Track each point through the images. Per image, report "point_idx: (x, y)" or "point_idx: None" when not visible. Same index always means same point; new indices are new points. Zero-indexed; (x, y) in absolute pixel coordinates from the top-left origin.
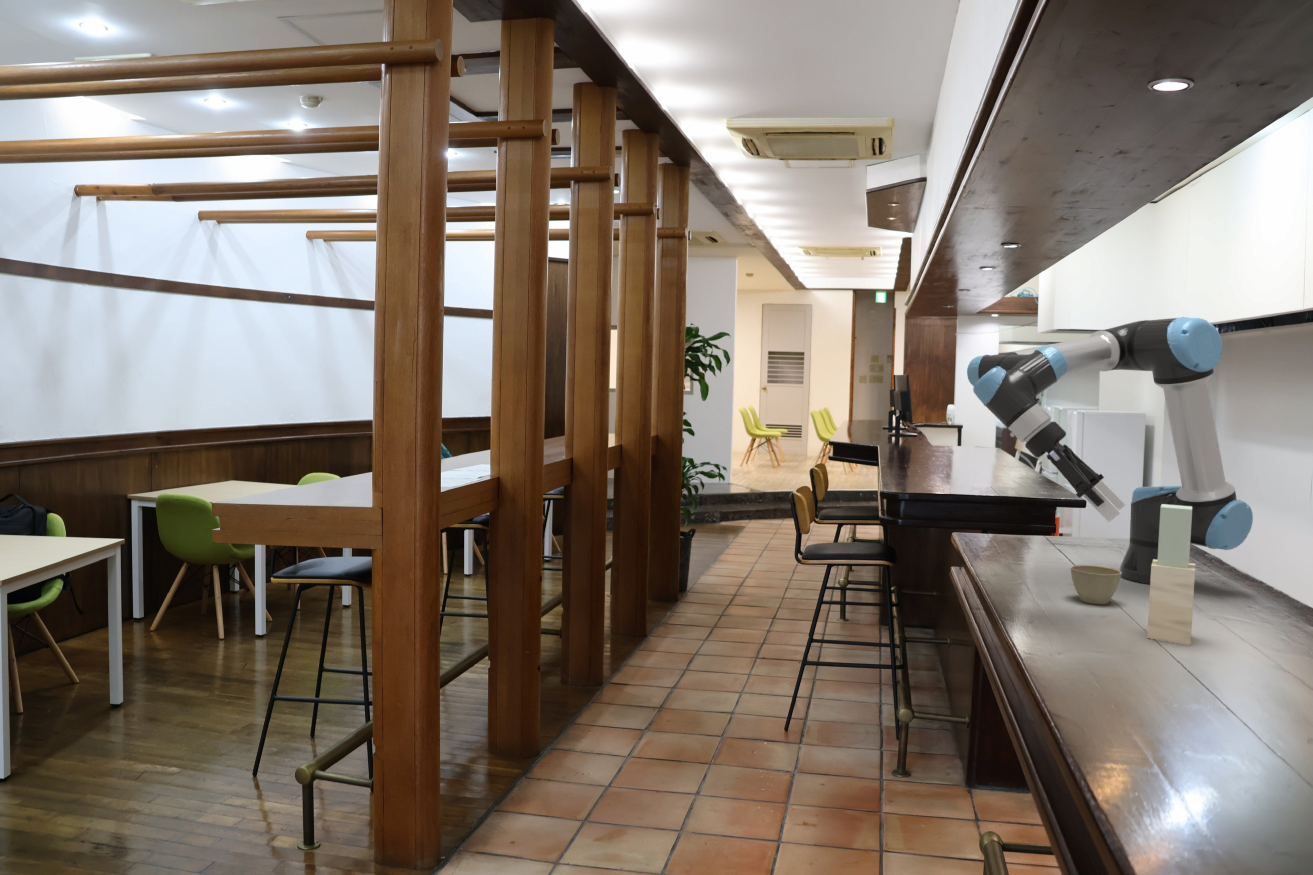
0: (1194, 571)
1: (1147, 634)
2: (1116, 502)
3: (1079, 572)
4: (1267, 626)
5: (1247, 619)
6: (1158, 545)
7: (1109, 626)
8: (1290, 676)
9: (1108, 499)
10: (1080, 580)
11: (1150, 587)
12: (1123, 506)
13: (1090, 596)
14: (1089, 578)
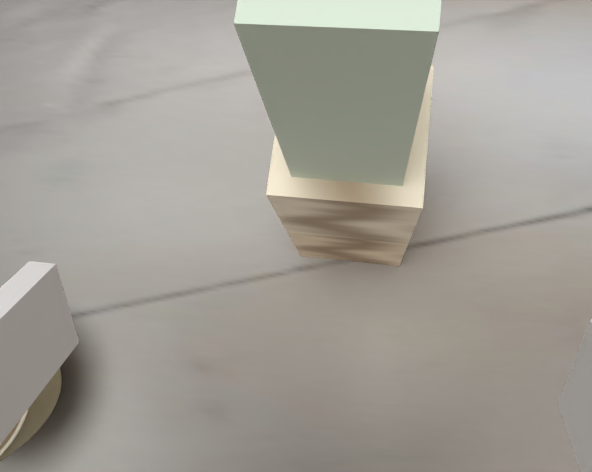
0: (432, 68)
1: (400, 263)
2: (32, 328)
3: (7, 450)
4: (133, 9)
5: (82, 40)
6: (409, 152)
7: (314, 355)
8: (567, 6)
9: (5, 391)
10: (24, 440)
11: (412, 230)
12: (59, 281)
13: (57, 400)
14: (37, 412)
